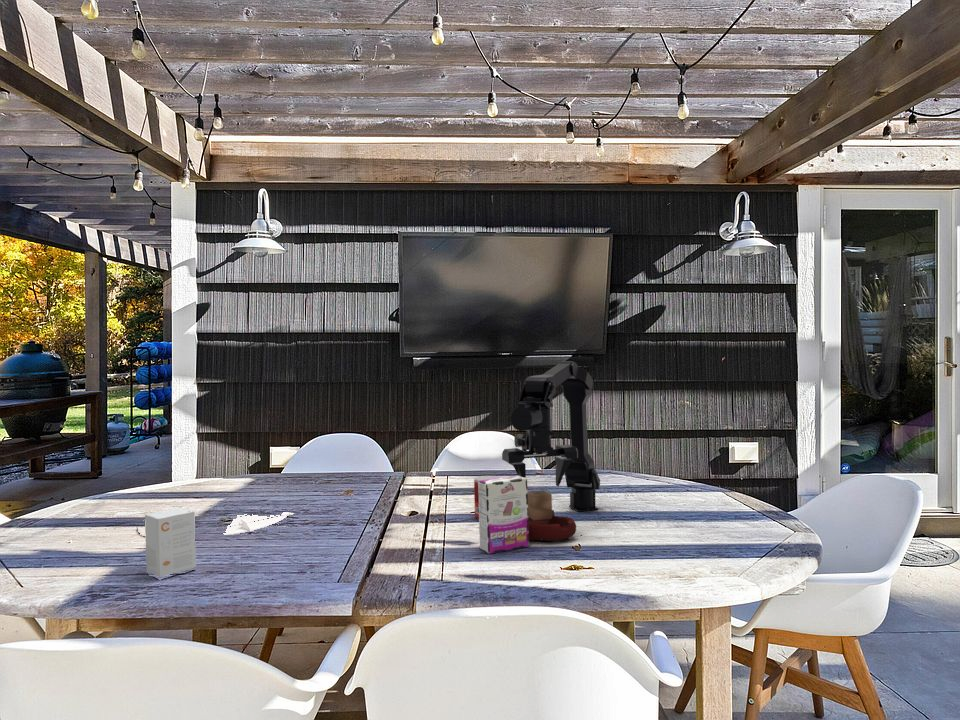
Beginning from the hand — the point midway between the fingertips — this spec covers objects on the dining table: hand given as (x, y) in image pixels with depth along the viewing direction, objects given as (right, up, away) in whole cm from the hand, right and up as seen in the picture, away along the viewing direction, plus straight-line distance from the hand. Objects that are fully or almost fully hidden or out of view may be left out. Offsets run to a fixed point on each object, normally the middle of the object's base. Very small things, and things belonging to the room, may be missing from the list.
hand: (540, 487), depth 166 cm
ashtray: (-2, -12, -2) cm, 13 cm away
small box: (-82, -14, -26) cm, 87 cm away
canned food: (-13, -12, +17) cm, 24 cm away
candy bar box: (-10, -12, -12) cm, 20 cm away
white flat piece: (-89, -13, +17) cm, 92 cm away
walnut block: (-1, -7, -2) cm, 7 cm away
